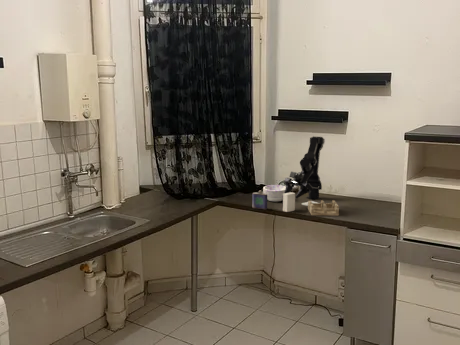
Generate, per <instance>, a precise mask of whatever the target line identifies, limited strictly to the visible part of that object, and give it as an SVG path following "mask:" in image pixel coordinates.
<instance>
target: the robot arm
mask: <svg viewBox="0 0 460 345" xmlns="http://www.w3.org/2000/svg"><path fill="white" fill-rule="evenodd" d="M325 142H326V140H325V138H324V137H323V136H314V135H313V136H311V137H309V145H308V150H307V152H306V153H305V154H304V156H303V157H302V158H301V159H300V161H299V165H300V169H301V171H300V172H296V171H290V174H289V175H288V177H285V178H284V180H283V181H284V184H285V186H286V189H285V193H290V192H291V191H292V190H293V189H294V187H295V186H296V187H299V190H298V192H297V193H296V194H295V199H298V198H300V197H302V196H304V195H306V194H308V196H306V199H308V200H311V201H314V200H321V197H320V191H321V190H322V189H323V186H322V182H321V181H322V180H321V177H320V175H319V168H320V167H319V166H320V156H321V155H320V154H321V150H322V149H323V148H324V145H325Z"/></svg>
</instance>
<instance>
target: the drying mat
mask: <svg viewBox="0 0 460 345" xmlns="http://www.w3.org/2000/svg"><path fill="white" fill-rule="evenodd" d="M311 202H312V203H318V202H317V201H314V200H311ZM301 205H302V206H306V207H308V201H306V202H302V203H301Z"/></svg>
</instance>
